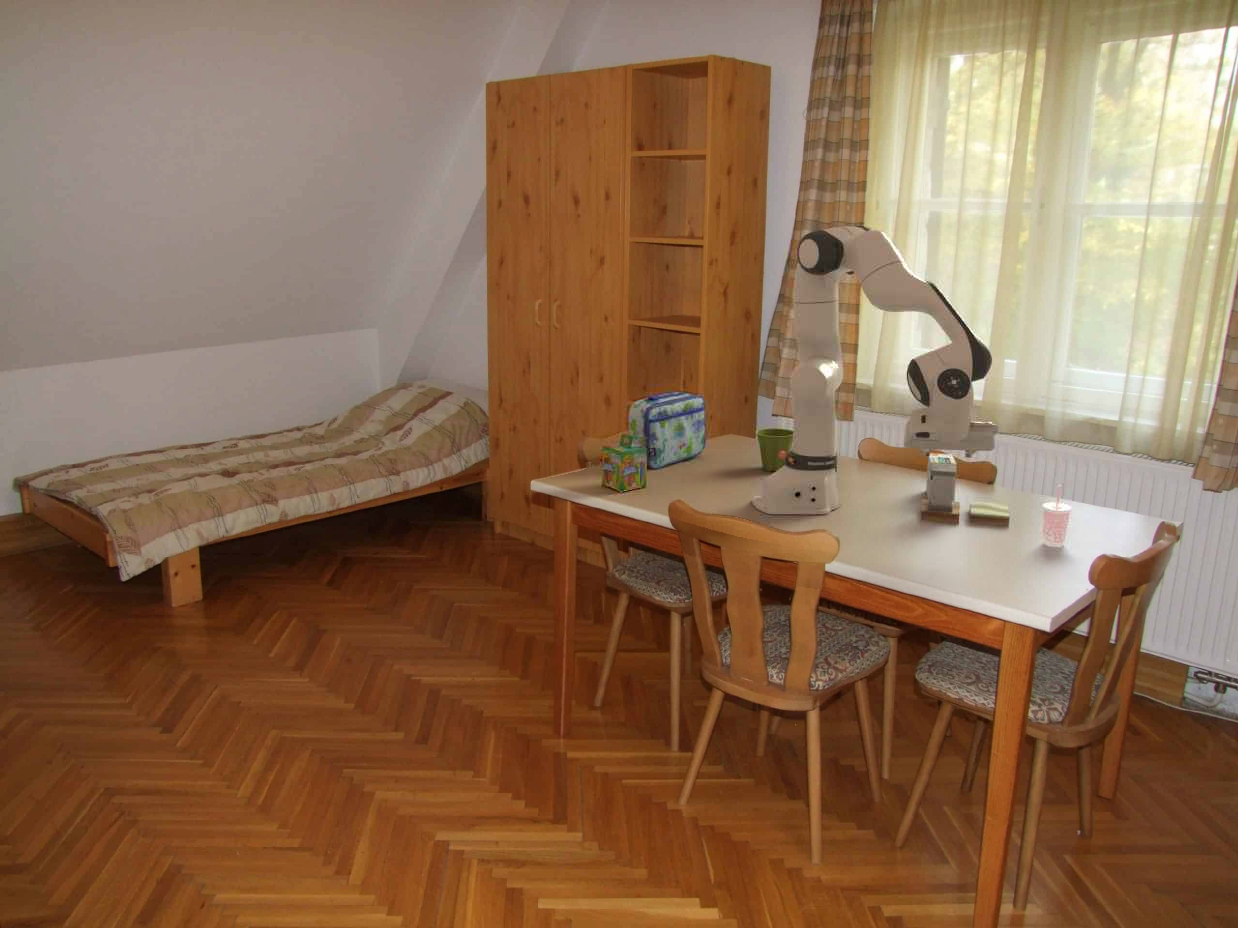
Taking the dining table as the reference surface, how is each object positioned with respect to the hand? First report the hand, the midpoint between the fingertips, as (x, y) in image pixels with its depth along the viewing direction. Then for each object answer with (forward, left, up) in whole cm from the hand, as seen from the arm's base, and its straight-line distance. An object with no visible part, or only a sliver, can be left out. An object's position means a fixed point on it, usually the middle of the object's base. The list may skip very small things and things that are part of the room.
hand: (947, 454), depth 246 cm
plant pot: (-21, +62, -19) cm, 69 cm away
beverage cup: (+21, -14, -19) cm, 31 cm away
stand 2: (+16, +6, -19) cm, 25 cm away
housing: (+5, +10, -16) cm, 20 cm away
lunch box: (-50, +77, -19) cm, 94 cm away
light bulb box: (+13, +26, -19) cm, 35 cm away
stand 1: (+5, +10, -19) cm, 22 cm away
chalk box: (-68, +52, -19) cm, 88 cm away
